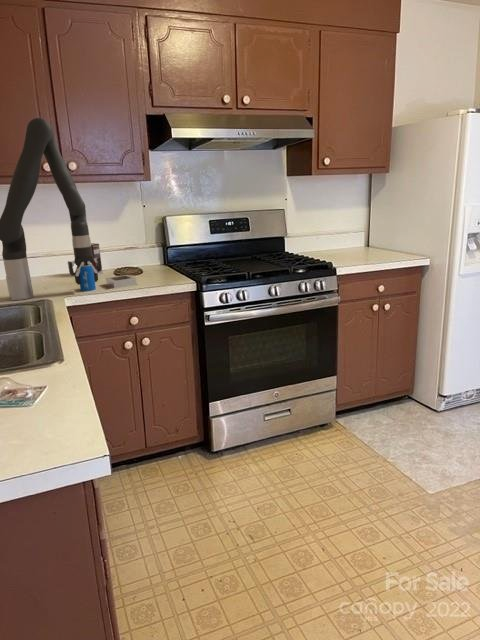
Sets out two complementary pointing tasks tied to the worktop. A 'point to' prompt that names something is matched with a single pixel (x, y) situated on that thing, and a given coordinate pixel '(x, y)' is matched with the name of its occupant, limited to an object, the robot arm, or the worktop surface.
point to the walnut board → (106, 287)
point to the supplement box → (96, 255)
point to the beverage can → (87, 278)
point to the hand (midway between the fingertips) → (87, 282)
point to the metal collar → (121, 281)
